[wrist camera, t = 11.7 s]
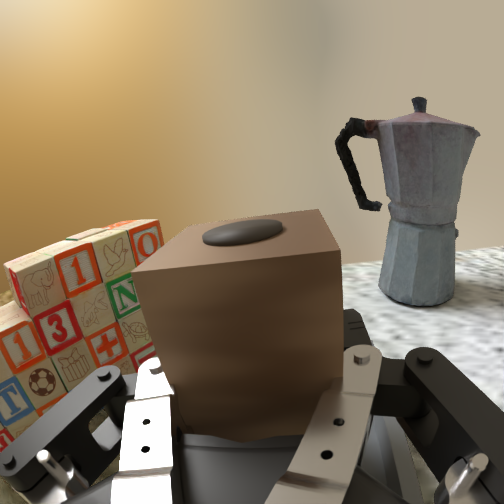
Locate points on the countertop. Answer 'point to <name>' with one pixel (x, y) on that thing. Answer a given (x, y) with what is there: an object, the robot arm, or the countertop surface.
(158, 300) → the walnut block
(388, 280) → the moka pot
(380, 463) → the charcoal tray
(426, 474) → the countertop surface
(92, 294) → the stack of blocks
